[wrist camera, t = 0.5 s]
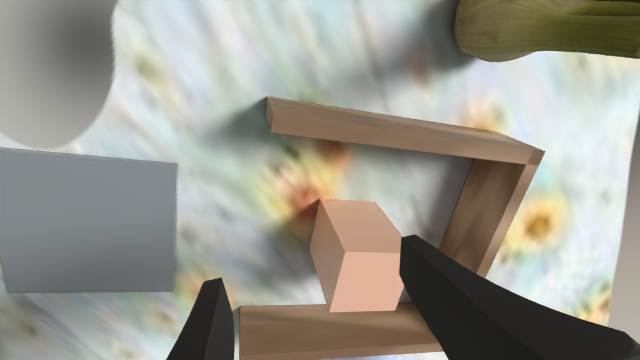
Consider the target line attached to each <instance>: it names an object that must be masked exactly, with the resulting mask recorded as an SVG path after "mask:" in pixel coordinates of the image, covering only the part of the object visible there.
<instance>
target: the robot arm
mask: <svg viewBox="0 0 640 360" xmlns="http://www.w3.org/2000/svg"><path fill="white" fill-rule="evenodd" d="M399 275H400V278H401V280H402V282H403V284H404V286H405V288H406V290H407V292H408V294H409V296H410V298H411V300H412V301H413V303H414V305H415V306H416V308H417V309H418V311H419V313H420V314H421V316H422V317H423V319H424V320H425V322H426V323H427V325H428V327H429V328H430V330H431V331H432V333H433V334H434V336H435V338H436V339H437V341H438V342H439V344H440V345H441V347H442V349H443V350H444V352H445V354H446V356H447V357H448V359H449V360H640V344H638V343H637V342H636V341H635V340H634V339H632V338H631V337H630V336H629V335H627V334H626V333H625V332H623V331H619V330H616V329H613V328H609V327H606V326H602V325H599V324H595V323H592V322H588V321H585V320H582V319H579V318H576V317H573V316H570V315H567V314H564V313H562V312H559V311H556V310H553V309H551V308H548V307H546V306H543V305H541V304H538V303H536V302H533V301H531V300H528V299H526V298H524V297H522V296H519V295H517V294H515V293H513V292H511V291H509V290H507V289H504V288H502V287H500V286H498V285H496V284H494V283H492V282H491V281H489V280H487V279H485V278H483V277H481V276H480V275H478V274H476V273H474V272H473V271H471V270H469V269H468V268H466V267H464V266H463V265H461V264H459V263H458V262H456V261H455V260H453V259H451V258H450V257H448V256H447V255H445V254H444V253H442V252H441V251H439V250H438V249H436V248H435V247H433V246H432V245H430V244H429V243H427V242H426V241H424V240H423V239H421V238H420V237H418V236H417V235H410V236H406V237H402V238H401V249H400V266H399ZM234 343H235V340H234V323H233V313H232V310H231V307H230V303H229V300H228V297H227V294H226V290H225V287H224V284H223V280H222V278H218V279H213V280H209V281H205V282H204V283H203V284H202V287H201V290H200V292H199V295H198V297H197V299H196V302H195V304H194V306H193V308H192V311H191V313H190V315H189V317H188V319H187V321H186V323H185V325H184V327H183V329H182V331H181V333H180V335H179V337H178V339H177V341H176V343H175V345H174V346H173V348H172V350H171V352H170V354H169V355H168V357H167V359H166V360H234ZM396 358H397V355H384V356H370V357H355V358H341V359H327V360H396Z"/></svg>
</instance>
